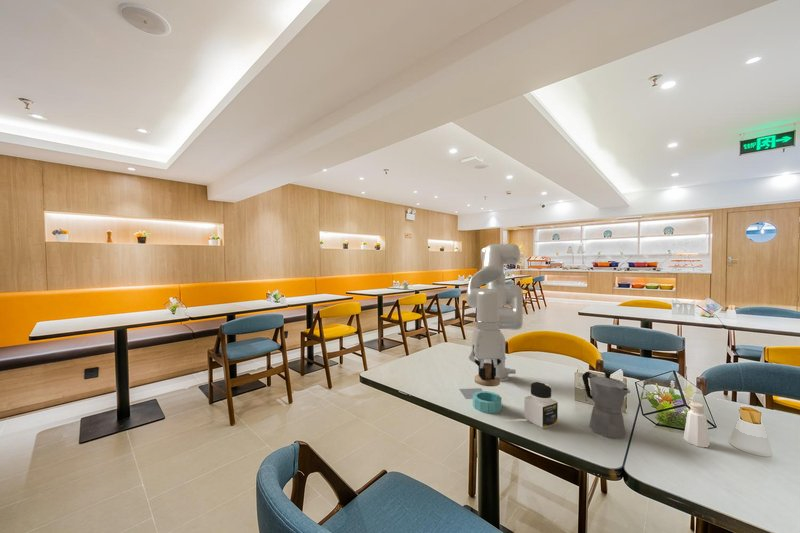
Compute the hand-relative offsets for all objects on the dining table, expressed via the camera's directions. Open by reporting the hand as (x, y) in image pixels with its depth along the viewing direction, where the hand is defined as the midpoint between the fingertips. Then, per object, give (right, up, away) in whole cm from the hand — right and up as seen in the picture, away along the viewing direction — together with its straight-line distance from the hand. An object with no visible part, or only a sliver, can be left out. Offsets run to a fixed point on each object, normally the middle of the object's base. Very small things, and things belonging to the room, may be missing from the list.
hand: (487, 377), depth 107 cm
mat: (-2, -11, +11) cm, 16 cm away
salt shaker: (+54, -11, -20) cm, 59 cm away
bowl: (0, -11, 0) cm, 11 cm away
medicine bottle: (+15, -11, -8) cm, 20 cm away
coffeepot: (+32, -11, -13) cm, 37 cm away
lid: (0, -1, 0) cm, 1 cm away
